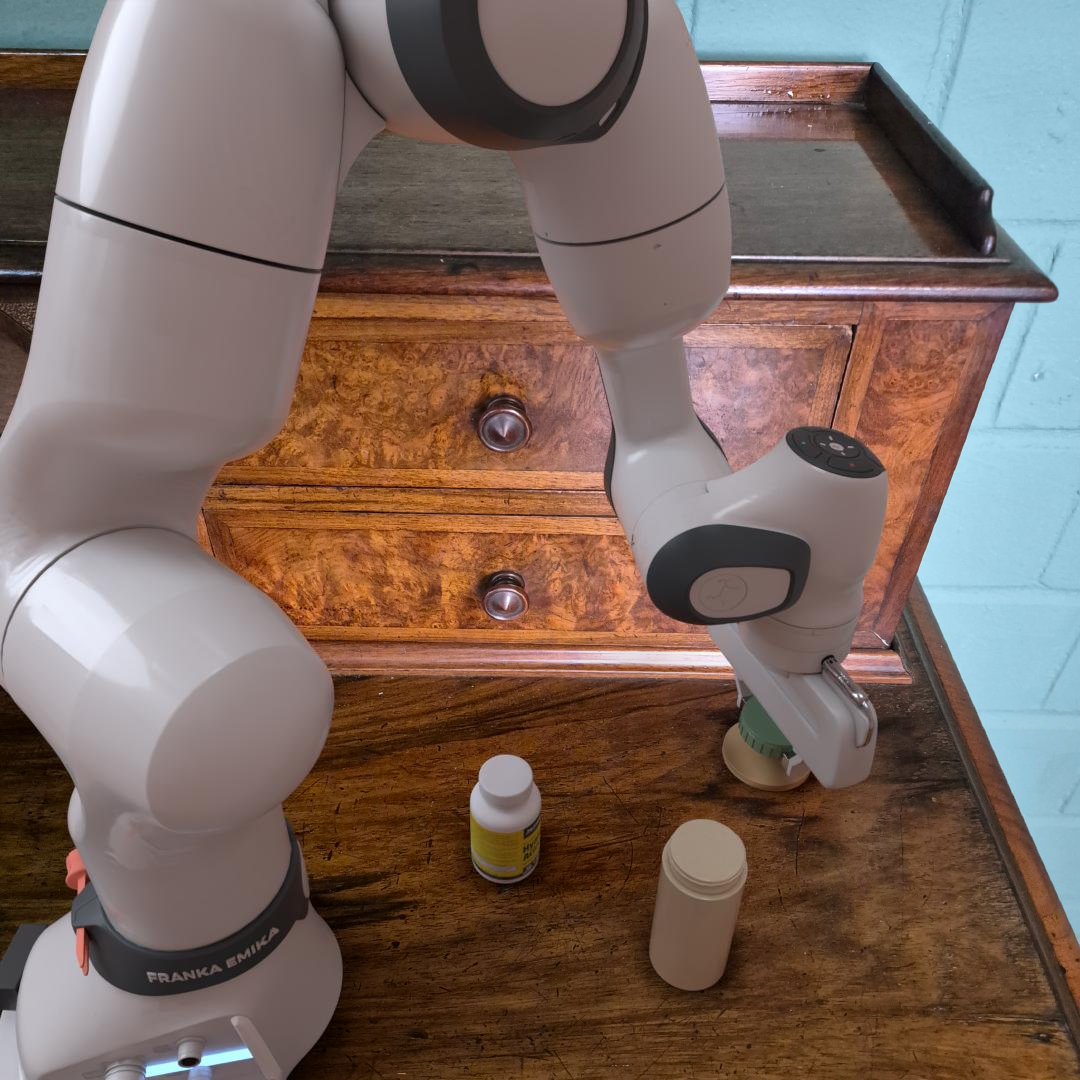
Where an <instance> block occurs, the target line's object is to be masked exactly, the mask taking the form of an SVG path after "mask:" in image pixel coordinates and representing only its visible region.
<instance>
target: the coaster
mask: <svg viewBox="0 0 1080 1080" xmlns="http://www.w3.org/2000/svg"><path fill="white" fill-rule="evenodd" d="M738 726H739V722H737V723H735V724H733V725H732V726H731V727H730V728H729V729H728V731H727V732H726V733H725V736H724V739H723V742H722V749H721V751H722V757H723V760H724V763H725V765H726V767H727V768H728V770H729V771H730V773H732V774H733V775H734V776H735V777H736V778H737V779H738V780H740V781H741V782H743V783H744V784H746V785H748V786H749V787H752V788H755V789H758V790H762V791H767V792H785V791H790V790H793V789H796V788H798V787H799V786H801V785H802V784H804V782H806V781H807V779H808V778H809V776H810V774H811V773H812V771H811V770H810V769H809V768H808V771H807V773H805V774H804V775H802V776H799V777H796V778H790V777H789V776H788V775H787V773H786V772H785V770H784V769H783V767H782V766H781V762H782V759H777V758H772V757H768V756H765V755H763V754H761V753H759V752H757V751H755V750H754V749H752V748H751V747H750V746H749V745H748V744H747V743H746V742H745V741H744V739H743V738H742V736H741V735H740V730H739V728H738Z"/></svg>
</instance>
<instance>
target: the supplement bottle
mask: <svg viewBox="0 0 1080 1080" xmlns="http://www.w3.org/2000/svg"><path fill="white" fill-rule="evenodd" d="M469 818H470V819H469V821H470V823H469V824H470V852H471V860H472V864H473V866H474V868H475V870H476V872H478V874H479V875H481V877H483V878H485V879H486V880H488V881H491V882H493V883H497V884H513V883H518V882H520V881H522V880H524V879H526V878H527V877H528V876H530V875H531V874H532V873H533V872H534V870H535V869H536V867H537V865H538V863H539V859H540V847H541V846H540V845H541V829H542V828H541V826H542V825H541V824H542V796H541V793H540V790H539V787H538V786H537V785H536V783H535V782H534V773H533V769H532V767H531V765H530V764H529V763H528V762H527V761H526V760H525V759H523V758H522V757H520V756H517V755H513V754H499V755H496V756H492V757H491V758H489V759H487V760H486V761H485V762H484V763H483V764H482V765H481V767H480V770H479V773H478V782H476V784H475V785H474V786H473V789H472V790H471V794H470V799H469Z"/></svg>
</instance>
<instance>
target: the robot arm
mask: <svg viewBox="0 0 1080 1080" xmlns="http://www.w3.org/2000/svg"><path fill="white" fill-rule="evenodd" d="M684 18H685V17H684V16H683V14H682V12H681V10H680V7H679V5H678V4H677V3H676V1H675V0H106V2H105V5H104V7H103V10H102V13H101V15H100V18H99V20H98V22H97V26H96V28H95V31H94V33H93V37H92V40H91V43H90V45H89V49H88V52H87V55H86V58H85V61H84V64H83V67H82V72H81V74H80V78H79V82H78V85H77V88H76V92H75V96H74V98H73V99H74V100H73V103H72V107H71V111H70V116H69V119H68V124H67V129H66V133H65V138H64V142H63V146H62V151H61V156H60V162H59V167H58V175H57V180H56V185H55V190H54V193H55V194H56V195H54V198H53V203H52V204H53V205H52V211H51V217H50V218H51V219H50V223H49V231H48V238H47V243H46V249H45V255H44V256H45V257H44V262H43V268H42V269H43V270H42V275H41V283H40V288H39V293H38V298H37V299H38V300H37V306H36V312H35V317H34V323H33V331H32V336H31V343H30V349H29V353H28V359H27V362H26V366H25V370H24V373H23V376H22V381H21V385H20V388H19V390H18V393H17V396H16V400H15V402H14V404H13V407H12V409H11V413H10V415H9V417H8V419H7V422H6V424H5V426H4V429H3V431H2V433H1V436H0V686H1V687H2V688H3V689H4V690H5V692H7V693H8V695H9V696H10V697H11V699H12V700H13V702H14V703H15V704H16V706H17V707H18V708H19V709H20V710H21V711H22V712H23V714H24V715H26V717H27V718H28V719H29V721H31V723H32V724H33V725H34V726H35V728H36V729H37V730H38V732H39V733H40V734H41V735H42V737H43V738H44V739H45V740H46V742H47V743H48V744H49V746H50V747H51V748H52V750H53V751H54V752H55V754H56V756H57V757H58V758H59V759H60V761H61V762H62V764H63V765H64V767H65V769H66V771H67V772H68V774H69V775H70V778H71V779H72V782H73V784H74V788H73V791H72V794H71V797H70V799H69V804H68V810H67V827H68V832H69V835H70V838H71V840H72V842H73V844H74V847H75V848H74V849H73V850H71V851H70V852H69V853H68V855H67V856H66V858H65V859H66V862H65V864H66V870H67V875H66V877H65V884H66V885H67V887H68V888H70V889H73V890H76V891H77V895H76V896H75V898H74V899H73V901H72V903H71V909H70V911H69V912H67V913H66V914H64V915H63V916H61V917H60V918H59V919H57V920H56V921H54V922H53V923H52V924H50V925H48V924H41V923H23V922H22V923H20V925H19V927H18V928H17V930H16V933H15V934H14V936H13V938H12V940H11V942H10V944H9V945H8V947H7V949H6V950H5V952H4V955H3V956H2V958H1V960H0V1011H2V1012H1V1015H0V1080H287V1079H288V1077H289V1075H290V1074H291V1073H292V1071H293V1070H294V1069H295V1067H296V1066H297V1065H298V1064H299V1063H300V1062H301V1061H302V1059H303V1058H304V1057H305V1056H306V1055H307V1054H308V1053H309V1052H310V1051H311V1050H312V1049H313V1047H314V1046H315V1045H316V1043H317V1042H318V1041H319V1040H320V1038H321V1037H322V1035H323V1034H324V1032H325V1031H326V1029H327V1027H328V1025H329V1024H330V1022H331V1020H332V1017H333V1015H334V1013H335V1011H336V1009H337V1006H338V1002H339V999H340V996H341V991H342V984H343V976H344V974H343V973H344V972H343V970H344V969H343V968H344V967H343V957H342V953H341V948H340V946H339V943H338V940H337V938H336V935H335V933H334V932H333V930H332V929H331V927H330V925H328V923H327V922H326V921H325V919H323V918H322V917H321V915H319V914H318V913H317V911H316V910H315V908H314V907H313V905H312V903H311V900H310V895H311V894H310V893H311V891H310V885H309V879H308V873H307V868H306V862H305V858H304V855H303V851H302V848H301V844H300V841H299V840H298V839H297V837H296V834H295V830H294V828H293V826H292V825H291V822H290V821H289V820H288V818H287V816H286V815H285V813H284V809H283V804H282V803H283V802H284V801H285V800H287V799H288V797H290V795H292V794H293V793H294V792H295V791H296V789H297V788H298V787H299V786H300V785H301V784H302V783H303V781H304V780H305V779H306V778H307V776H308V775H309V774H310V772H311V771H312V769H313V768H314V767H315V764H316V763H317V760H319V757H320V755H321V753H322V751H323V749H324V746H325V744H326V741H327V738H328V736H329V733H330V729H331V725H332V721H333V714H334V709H335V688H334V687H335V686H334V682H333V678H332V674H331V672H330V669H329V668H328V666H327V665H326V663H325V662H324V660H323V658H321V657H320V655H319V654H318V652H317V650H315V648H313V647H314V646H312V645H311V644H310V642H309V641H308V640H307V638H306V637H305V636H304V634H303V633H302V631H301V630H300V629H299V628H298V627H297V626H296V624H295V623H294V622H293V620H292V619H291V618H290V617H289V616H288V615H287V614H286V613H285V611H284V610H283V609H282V608H281V607H280V606H279V604H278V603H277V602H276V601H275V600H274V599H273V598H271V596H269V595H268V594H267V593H265V592H264V591H263V590H261V589H260V588H258V587H257V586H256V585H254V584H253V583H251V582H250V581H248V580H247V579H246V578H244V577H243V576H241V575H240V574H239V573H237V572H236V571H235V570H233V569H232V568H230V567H229V566H228V565H226V564H225V563H224V562H222V561H220V560H219V559H218V558H216V557H215V556H214V555H212V554H211V553H210V552H208V551H207V550H205V548H204V547H202V545H201V542H200V537H199V520H200V519H199V518H200V513H201V510H202V507H203V505H204V503H205V500H206V498H207V496H208V494H209V492H210V490H211V487H212V486H213V484H214V482H215V481H216V479H217V477H218V475H219V474H220V473H221V471H222V470H223V468H224V466H226V464H228V463H231V462H236V461H238V460H241V459H244V458H246V457H249V456H251V455H253V454H255V453H257V452H259V451H261V450H263V449H264V448H266V447H267V446H268V445H270V444H271V443H272V442H273V441H274V440H275V439H276V438H277V437H278V435H279V434H280V433H281V431H282V430H283V429H284V427H285V425H286V423H287V421H288V418H289V416H290V411H291V407H292V403H293V398H294V394H295V390H296V385H297V381H298V377H299V372H300V369H301V364H302V360H303V354H304V351H305V346H306V342H307V337H308V333H309V329H310V324H311V320H312V316H313V310H314V307H315V303H316V299H317V294H318V291H319V286H320V282H321V278H322V273H323V272H322V269H324V264H325V259H326V255H327V254H326V253H327V250H328V245H329V238H330V234H331V229H332V223H333V217H334V211H335V205H336V198H337V196H339V195H340V193H341V191H342V187H343V185H344V182H345V180H346V178H347V177H348V174H349V172H350V170H351V168H352V167H353V165H354V163H355V161H356V160H357V158H358V156H359V155H360V154H361V153H362V151H363V150H364V149H365V148H366V146H367V145H368V143H369V142H371V140H373V138H374V137H375V136H377V135H378V134H379V133H380V132H383V130H385V129H386V130H388V131H389V132H391V133H393V134H395V135H398V136H401V137H403V138H406V139H410V140H414V141H419V142H426V143H433V144H445V145H466V146H467V145H469V146H470V145H472V146H475V147H478V148H481V149H486V150H492V151H501V152H507V154H508V156H509V157H510V160H511V161H512V163H513V165H514V168H515V170H516V173H517V175H518V176H519V180H520V186H521V190H522V195H523V200H524V204H525V208H526V210H527V215H528V219H529V222H530V227H531V229H532V232H533V233H532V235H533V237H534V240H535V245H536V248H537V250H538V253H539V257H540V259H541V263H542V266H543V268H544V270H545V273H546V276H547V278H548V281H549V284H550V285H551V288H552V291H553V293H554V295H555V297H556V299H557V302H558V304H559V305H560V308H561V310H562V311H563V314H564V315H565V317H566V320H567V321H568V323H569V324H570V326H571V329H572V331H573V332H574V333H575V335H576V336H577V337H579V338H580V339H581V340H583V341H584V342H586V343H587V344H590V345H591V346H592V348H593V349H594V353H595V356H596V360H597V366H598V369H599V373H600V377H601V382H602V387H603V390H604V394H605V398H606V403H607V407H608V411H609V416H610V420H611V421H610V422H611V432H610V439H609V440H610V441H609V444H608V449H607V453H606V458H605V462H604V468H603V488H604V494H605V496H606V499H607V502H608V503H609V504H610V507H611V509H612V510H613V513H614V515H615V517H616V518H617V520H618V522H619V524H620V526H621V529H622V531H623V535H624V536H625V538H626V542H627V544H628V547H629V549H630V552H631V554H632V557H633V560H634V561H635V564H636V566H637V567H636V568H637V570H638V572H639V575H640V577H641V580H642V582H643V585H644V587H645V589H646V591H647V594H648V597H649V599H650V601H651V602H652V604H653V605H654V607H656V609H657V610H658V611H659V612H661V613H662V614H663V615H665V616H667V618H670V619H672V620H675V621H677V622H680V623H683V624H688V625H693V626H702V627H703V626H705V627H706V630H707V634H708V636H709V638H710V639H711V641H712V642H713V643H714V645H715V646H716V647H717V649H718V650H719V651H720V653H721V654H722V655H723V656H724V658H725V659H726V661H727V662H728V664H729V665H730V666H731V667H732V668H733V676H734V681H735V685H736V690H737V693H738V695H737V699H736V706H737V708H738V709H739V710H740V712H742V710H743V707H744V705H745V703H746V702H747V701H748V700H749V699H750V698H752V697H754V696H755V697H756V699H757V700H758V701H759V703H760V704H761V705H762V707H763V708H764V709H765V710H766V712H767V713H768V714H769V716H770V717H771V718H772V720H773V721H774V722H775V724H776V725H777V726H778V728H779V729H780V730H781V732H782V733H783V734H784V736H785V737H786V738H787V740H788V741H789V742H790V743H791V745H792V746H793V752H792V751H791V752H785V753H783V755H782V762H781V766H782V767H783V769H784V770H785V772H786V773H787V775H788V776H789V777H790V778H796V777H799V776H802V775H804V774H805V773H807V771H808V768H809V769H810V770H811V773H812V774H813V775H814V777H815V779H817V781H818V782H819V783H820V785H821V786H822V787H823V788H825V789H827V790H837V789H838V790H839V789H843V788H847V787H851V786H854V785H857V784H858V783H861V782H863V781H865V780H866V779H867V778H869V775H870V773H871V770H872V766H873V762H874V758H875V751H876V746H877V739H878V738H877V737H878V716H877V712H876V709H875V707H874V705H873V703H872V702H871V700H870V698H869V696H868V694H867V693H866V691H865V690H864V689H863V688H862V687H861V686H860V685H859V684H857V683H856V682H855V681H854V680H853V678H852V677H851V676H850V674H849V673H848V671H847V670H846V668H844V667H843V665H842V663H844V661H845V660H846V659H847V657H848V656H849V654H850V651H851V647H852V644H853V640H854V637H855V634H856V630H857V626H858V623H859V618H860V615H861V611H862V608H863V604H864V597H865V594H864V592H865V591H864V580H865V578H866V576H867V575H868V573H869V572H870V571H871V570H872V568H873V566H874V564H875V560H876V558H877V554H878V550H879V546H880V543H881V540H882V535H883V529H884V525H885V520H886V514H887V509H888V498H889V477H888V472H887V469H886V467H885V466H884V464H883V462H882V461H881V460H880V458H879V457H878V456H877V455H876V454H875V453H874V452H873V450H872V449H870V448H869V447H868V446H867V445H866V444H865V443H864V442H862V441H861V440H859V439H858V438H855V437H853V436H851V435H849V434H847V433H844V432H843V431H840V430H836V429H834V428H830V427H824V426H816V425H806V426H804V425H803V426H797V427H793V428H791V429H789V430H788V431H787V432H785V433H784V434H783V436H782V437H781V438H780V439H779V441H778V442H777V444H775V445H774V446H773V448H772V449H771V450H769V451H767V453H765V454H764V455H762V456H761V457H760V458H758V459H756V460H755V461H754V462H752V463H750V464H748V465H747V466H744V467H743V468H741V469H739V470H736V471H734V470H733V468H732V467H731V465H730V462H729V460H728V457H727V455H726V453H725V451H724V449H723V448H722V445H721V443H720V441H719V439H718V438H717V436H716V435H715V433H714V432H713V431H712V430H711V429H710V428H709V427H708V425H707V424H706V423H705V422H704V421H703V419H701V418H700V417H699V415H698V414H697V412H696V410H695V407H694V401H693V396H692V390H691V388H692V387H691V382H690V375H689V369H688V363H687V361H688V360H687V356H686V349H685V344H684V343H685V342H684V336H687V334H689V333H691V332H693V331H694V330H696V329H697V328H698V327H700V326H701V325H702V324H704V323H705V321H707V320H708V319H709V318H710V317H711V316H712V315H713V313H714V312H715V311H716V310H717V308H718V307H719V306H720V304H721V303H722V302H723V300H724V298H725V296H726V294H727V293H728V291H729V288H730V282H731V271H732V252H733V251H732V248H733V239H732V237H733V236H732V235H733V233H732V217H731V207H730V199H729V193H728V185H727V178H726V173H725V167H724V161H723V155H722V150H721V149H722V148H721V144H720V143H721V142H720V138H719V134H718V130H717V124H716V120H715V116H714V115H715V114H714V111H713V108H712V103H711V100H710V97H709V93H708V89H707V85H706V82H705V78H704V75H703V72H702V69H701V65H700V62H699V59H698V55H697V53H696V50H695V45H694V44H693V41H692V37H691V36H690V35H691V34H690V32H689V31H688V27H687V25H686V21H685V19H684Z"/></svg>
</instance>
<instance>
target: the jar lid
mask: <svg viewBox="0 0 1080 1080" xmlns="http://www.w3.org/2000/svg"><path fill="white" fill-rule="evenodd" d="M738 723H739V726H738V728H739V730H740V735H741V736H742V738H743V739H744V741H745V742H746V743H747V744H748V745H749V746H750V747H751V748H752V749H754V750H755V751H757V752H759V753H761V754H763V755H765V756H768V757H772V758H777V759H782V755H783V753H785V752H791V751H792V752H793V746H792V745H791V743H790V742H789V741H788V740H787V738H786V737H785V736H784V734H783V733H782V732H781V730H780V729H779V728H778V726H777V725H776V724H775V722H774V721H773V720H772V718H771V717H770V716H769V714H768V713H767V712H766V710H765V709H764V708H763V707H762V705H761V704H760V703H759V701H758V700H757V699H756V697H755V696H754V697H752V698H750V699H749V700H748V701H747V702H746V703H745V705H744V707H743V710H742V711H740V715H739V718H738Z"/></svg>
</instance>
